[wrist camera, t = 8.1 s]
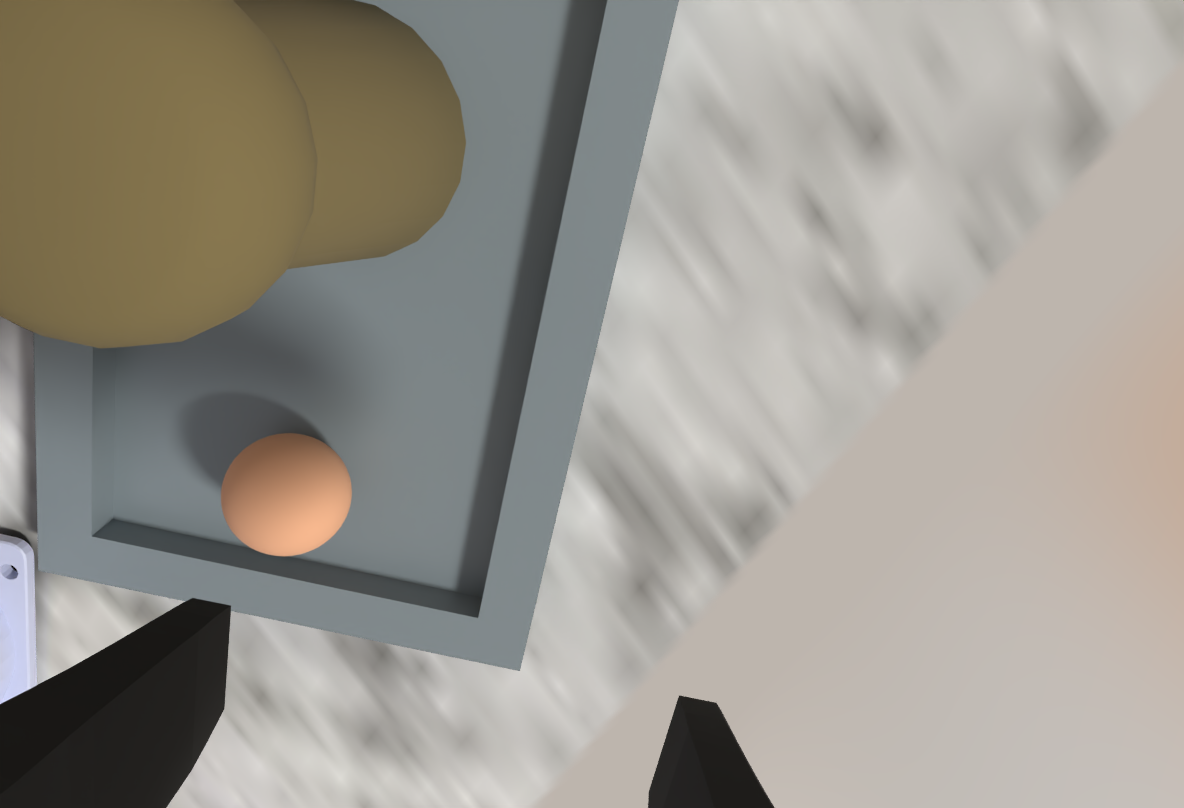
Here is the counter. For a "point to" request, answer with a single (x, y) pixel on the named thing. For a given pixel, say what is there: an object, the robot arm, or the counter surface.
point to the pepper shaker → (207, 156)
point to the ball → (286, 494)
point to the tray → (388, 366)
